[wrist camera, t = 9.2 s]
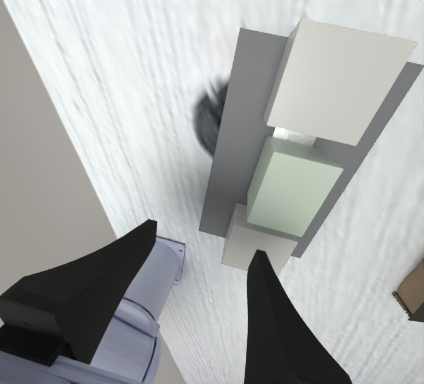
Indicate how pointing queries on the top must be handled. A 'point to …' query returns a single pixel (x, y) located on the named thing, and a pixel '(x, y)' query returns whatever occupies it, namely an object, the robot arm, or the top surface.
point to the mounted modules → (319, 109)
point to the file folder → (412, 294)
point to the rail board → (276, 134)
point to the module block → (289, 185)
